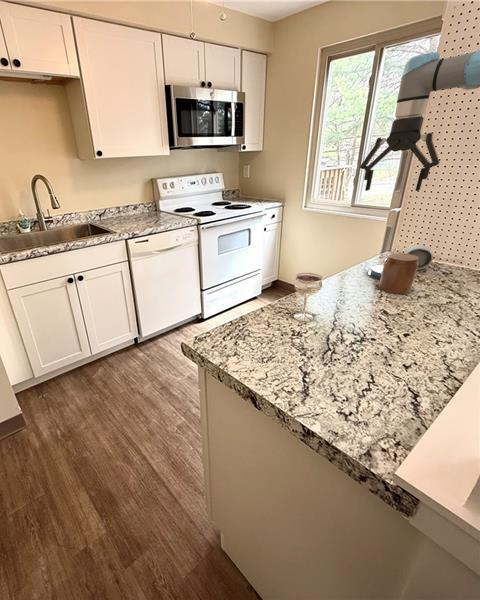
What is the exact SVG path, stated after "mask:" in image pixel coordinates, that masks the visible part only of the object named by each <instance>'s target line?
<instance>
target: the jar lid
mask: <svg viewBox="0 0 480 600" xmlns="http://www.w3.org/2000/svg"><path fill="white" fill-rule="evenodd" d="M383 266H384V264H383V265H382V264H381V265H380V264H379V265H374V266H372V267H371V269H370V271H371V272H370V273H371V275H373V276H375V277H378V278H381V274H382V270H383Z"/></svg>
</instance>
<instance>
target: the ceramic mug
mask: <svg viewBox="0 0 480 600" xmlns="http://www.w3.org/2000/svg"><path fill="white" fill-rule="evenodd" d="M404 253H405V254H411V255H415V256H417V257H418V259H419V260H418V261H417V262H418V263H419V264H418V268H417V271H420V270H423V269H426V268H428V267H429V266H430V265H431V264H432V262H433V259H434V256H433V252H431V249H430V248H429V247H428V246H425V245H423V244H413V245H411V246H409V247H408V248H407V249H406V250H405V251H404Z"/></svg>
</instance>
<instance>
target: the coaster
mask: <svg viewBox="0 0 480 600" xmlns="http://www.w3.org/2000/svg"><path fill="white" fill-rule="evenodd" d="M367 272H368V273H367V276H369V277H370V278H372V279H374V280H378V281H380V278H378V277H375V276H373V275H371V273H370V272H371V270H369V271H367Z"/></svg>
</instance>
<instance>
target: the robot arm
mask: <svg viewBox="0 0 480 600" xmlns="http://www.w3.org/2000/svg"><path fill="white" fill-rule="evenodd" d="M456 88H457V89H463V90H468V91H469V90H475V89H479V88H480V49H478V50H477V51H473V52H469V53H463V54H460V55H455V56H451V57H447V58H440V53H439V52H437V51H435V52H434V51H433V52H427V53H421V54H417V55H415V56H412V57H410V58H408V60H407V61H405V65H404V69H403V72H402V76H401V78H400V84H399V90H398V95H397V99H396V103H395V108H394V112H393V117H392V118H394V119H393V121H392V122H391V127H390V132H389V135H388V137H382V136H381V137H377V138H376V140H375V144H374V145H373V147H372V149H371V150H370V152H369V153H368V154H367V156H366V157H365V158H364V160H363V161H362V162H361V164H360V166H359V168H360V169H362V170H364V171H365V172H364V177H363V181H366V184H365V190H364V191H365V192H368V191H370V190H371V186H372V181H373V175H374V171H375V170H374V169H373V168H374V167H375V166H376V165H377V164H378V163H379V162H381V160H383V159H384V158H385V157H386V156H387V155H388V154H390V152H391V151H392V152H400V151H401V152H406V151H411V152H412V153H413V154H414V157H416V158H417V160H418V161H419V162H420V163H421V165H422V166H423V167H422V168H420V172H419V175H418V180H417V182H416V187H415V192H419V191H420V190H421V187H422V183H423V180H427V179H428V177H429V174H430V170H431V168H432V167H433V168H434V167H436V166H438V165H440V162H441V161H440V158H439V157H438V156H439V155H438V153H437V150H436V147H435V145H434V141H433V138H434V133H433V132H428V133H424V134H421V131H422V126H423V124H424V123H423V122H424V116H423V115H425V114H426V111H427V107H428V102H429V99H430V94H431V93H432V92H437V91H442V90H444V91H445V90H449V89H450V90H451V89H456ZM421 139H422V141H423V142H424V143H425V144H426V148H427V151H428V153H429V154H428V155H429V157H430V160H431V162H430V161H429V159H428V158H427V157H426V156H425V155H424V153H423V152H422V151H421V149H420V148H419V146H418V145H417V143H418V142H419V141H420V140H421ZM385 143H386V144H387V145H388V146H387V147H386V148H385V149H384V150H383V151H382V152H381V153H380V154H379V155H378V156H377V157H376V158H374V159H373V157H374V156H375V155H376V153H377V152H378V150H379V149H380V147H381V146H382V145H384V144H385ZM372 159H373V160H372ZM370 161H371V162H370Z"/></svg>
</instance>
